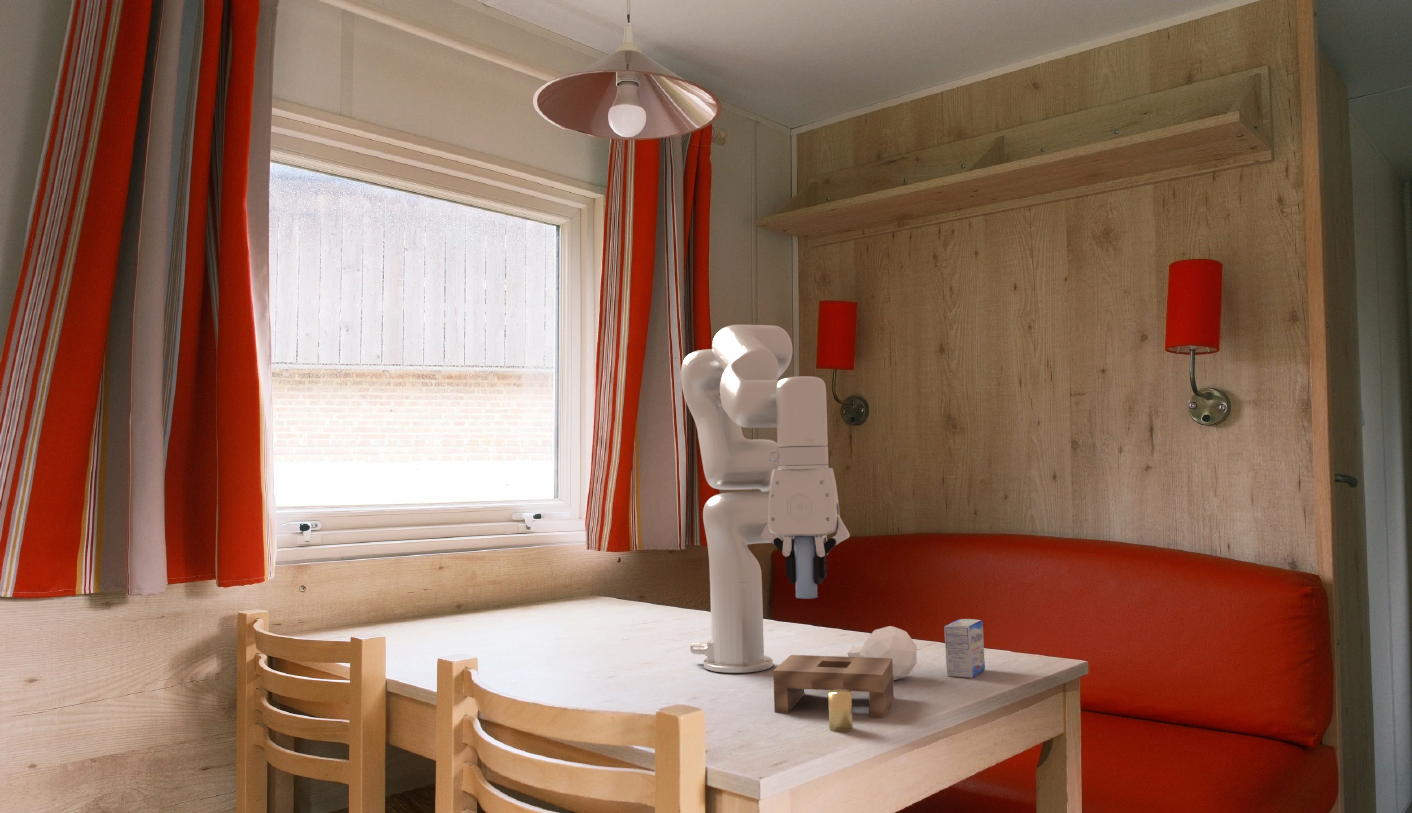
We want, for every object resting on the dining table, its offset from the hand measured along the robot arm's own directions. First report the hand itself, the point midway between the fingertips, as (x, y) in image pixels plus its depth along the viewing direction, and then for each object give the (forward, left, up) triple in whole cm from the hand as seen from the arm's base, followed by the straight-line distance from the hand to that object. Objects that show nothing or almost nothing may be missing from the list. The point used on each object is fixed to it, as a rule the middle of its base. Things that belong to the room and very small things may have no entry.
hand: (806, 581), depth 140 cm
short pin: (+6, -9, -19) cm, 22 cm away
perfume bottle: (+8, +24, -19) cm, 32 cm away
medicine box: (+21, +30, -19) cm, 42 cm away
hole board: (+3, +4, -19) cm, 19 cm away
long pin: (0, 0, -2) cm, 2 cm away
